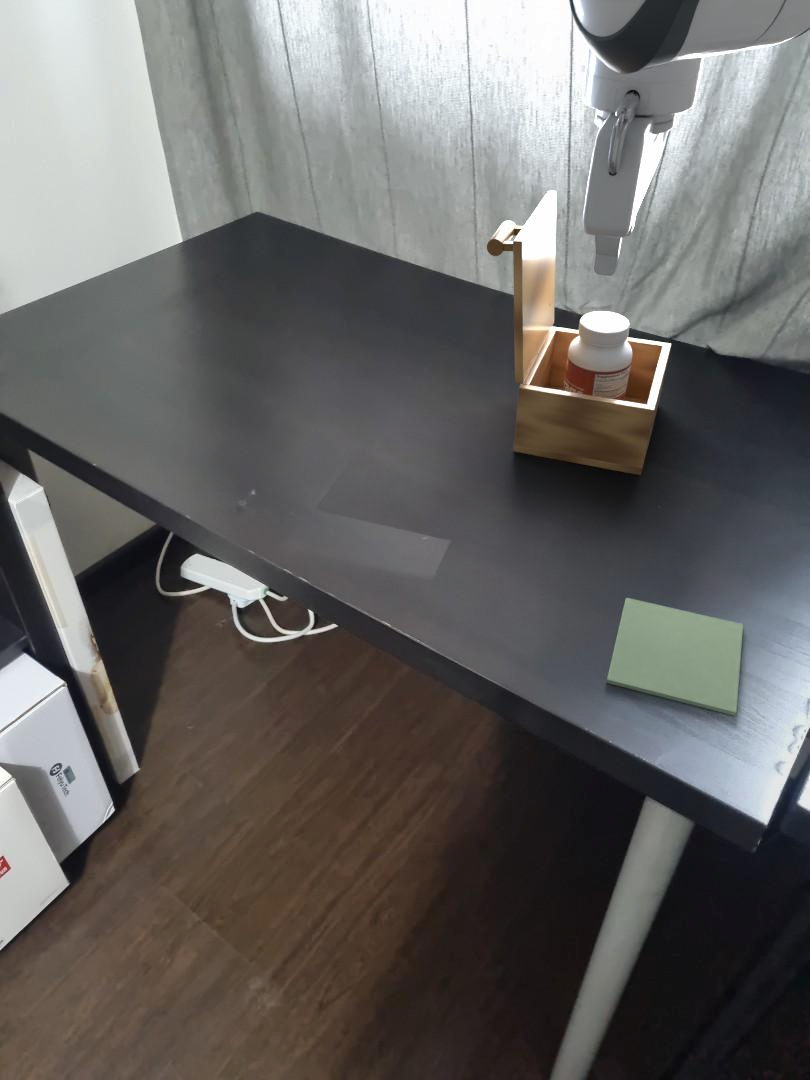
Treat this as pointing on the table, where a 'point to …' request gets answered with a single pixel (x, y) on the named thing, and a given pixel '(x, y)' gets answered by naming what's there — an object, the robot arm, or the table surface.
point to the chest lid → (531, 279)
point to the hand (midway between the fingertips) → (614, 251)
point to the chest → (589, 409)
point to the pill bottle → (599, 356)
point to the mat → (678, 656)
